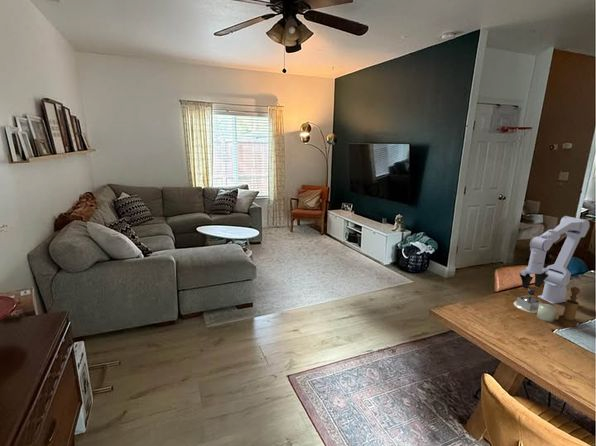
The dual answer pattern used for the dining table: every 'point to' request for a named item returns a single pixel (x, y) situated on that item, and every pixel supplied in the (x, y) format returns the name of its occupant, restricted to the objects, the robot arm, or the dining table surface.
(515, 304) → the trivet
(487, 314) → the dining table surface
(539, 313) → the pale green rounded block
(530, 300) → the plunger
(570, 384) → the dining table surface
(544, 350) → the dining table surface
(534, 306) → the grey faceted box
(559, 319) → the mortar and pestle
